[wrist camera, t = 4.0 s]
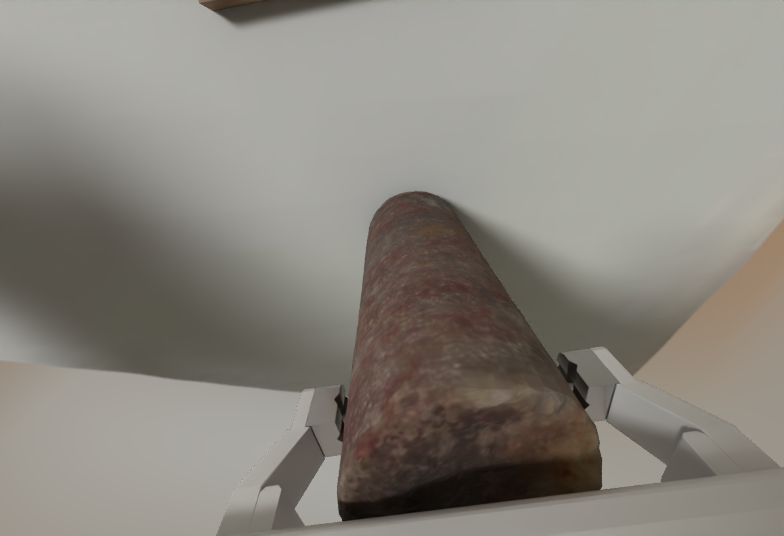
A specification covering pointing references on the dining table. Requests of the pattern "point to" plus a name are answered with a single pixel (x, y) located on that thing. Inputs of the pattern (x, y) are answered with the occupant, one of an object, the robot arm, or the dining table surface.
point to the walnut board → (224, 3)
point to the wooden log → (451, 381)
